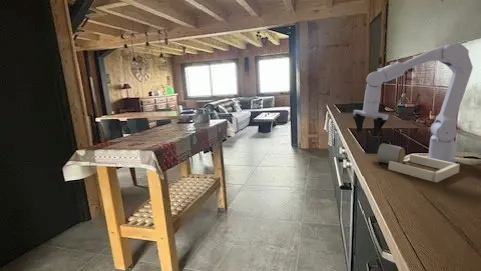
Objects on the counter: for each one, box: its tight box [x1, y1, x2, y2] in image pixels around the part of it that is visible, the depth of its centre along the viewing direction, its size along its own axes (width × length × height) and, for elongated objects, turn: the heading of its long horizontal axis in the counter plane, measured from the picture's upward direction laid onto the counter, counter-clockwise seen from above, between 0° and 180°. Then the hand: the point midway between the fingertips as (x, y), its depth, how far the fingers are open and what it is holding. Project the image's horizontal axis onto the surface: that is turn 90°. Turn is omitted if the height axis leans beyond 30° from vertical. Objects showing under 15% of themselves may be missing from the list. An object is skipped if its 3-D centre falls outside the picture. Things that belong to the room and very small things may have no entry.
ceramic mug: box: [376, 142, 406, 165], centre depth 104 cm, size 11×8×8 cm
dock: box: [387, 153, 460, 183], centre depth 95 cm, size 15×16×3 cm
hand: (367, 133), depth 111 cm, fingers open, 7 cm apart
